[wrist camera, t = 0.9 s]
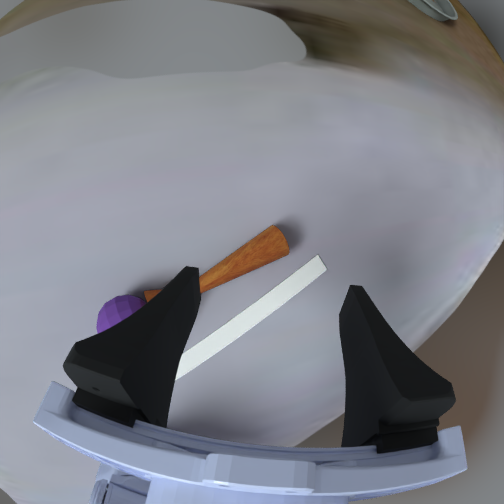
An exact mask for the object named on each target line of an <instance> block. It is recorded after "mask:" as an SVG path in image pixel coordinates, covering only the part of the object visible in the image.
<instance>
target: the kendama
mask: <svg viewBox="0 0 504 504" xmlns="http://www.w3.org/2000/svg"><path fill="white" fill-rule="evenodd" d="M288 254H289V246H288V243H287V241H286V239H285V237H284V235H283V234H282V232H281V231H280V230H279V229H278V228H277V227H276V226H273V225H272V226H270V227H269V228H267V229H266V230H264V231H263V232H262V233H260V234H259V235H257V236H256V237H254V238H253V239H252V240H250V241H249V242H247V243H246V244H245V245H243V246H242V247H240V248H239V249H238V250H236V251H235V252H233V253H232V254H231V255H229V256H228V257H226V258H225V259H224V260H222V261H221V262H219V263H218V264H217V265H215V266H214V267H212V268H211V269H210V270H208V271H207V272H206V273H204V274H203V275H201V276H200V277H199V281H200V293H203V292H205V291H207V290H210V289H212V288H214V287H216V286H219V285H221V284H223V283H226V282H228V281H230V280H232V279H235V278H237V277H239V276H241V275H244V274H246V273H248V272H250V271H253V270H255V269H257V268H259V267H262V266H264V265H266V264H268V263H271V262H273V261H275V260H277V259H280V258H282V257H284V256H286V255H288ZM161 290H162V289H161ZM161 290H148V291H144V294H145V298H146V300H147V302H149V301H150V300H151V299H152V298H153V297H154V296H156V295H157V294H158V293H159V292H160V291H161ZM145 304H146V302H144V301H143V300H142V299H141V298H138V297H134V296H131V295H123V296H117V297H115V298H113V299H112V300H110V301H108V302H106V303H105V304H104V306H103V307H102V309H101V310H100V312H99V314H98V320H97V332H98V333H100V332H102V331H105V330H106V329H108V328H110V327H112V326H114V325H116V324H117V323H119V322H121V321H122V320H124V319H126V318H127V317H129V316H130V315H132V314H133V313H134V312H136V311H137V310H139V309H140V308H141V307H142V306H144V305H145Z"/></svg>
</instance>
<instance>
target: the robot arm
mask: <svg viewBox="0 0 504 504" xmlns="http://www.w3.org/2000/svg"><path fill="white" fill-rule="evenodd" d="M200 301H201V293H200V281H199V268H196V267H189V266H186V267H185V268H184V269H183V270H182V271H181V272H180V273H179V274H178V275H177V276H176V277H175V278H174V279H173V280H172V281H171V282H170V283H169V284H167V285H166V286H165V287H164V288H163V289H162V290H161V291H160V292H159V293H158V294H157V295H156V296H154V297H153V298H152V299H151V300H150V301H149V302H147V303H146V304H145V305H144V306H142V307H141V308H140V309H139V310H137V311H136V312H134V313H133V314H132V315H130V316H129V317H127V318H126V319H124V320H122V321H121V322H119V323H117V324H116V325H114V326H112V327H110V328H108V329H106V330H105V331H102V332H100V333H98V334H96V335H94V336H91V337H89V338H86V339H84V340H81V341H79V342H76V343H75V344H74V346H73V347H72V349H71V351H70V353H69V354H68V356H67V358H66V360H65V362H64V364H63V368H64V371H65V372H66V374H67V375H68V376H69V378H70V379H71V380H72V381H73V382H74V384H75V385H76V386H77V387H78V388H77V390H76V392H74V391H72V390H71V389H69V388H67V387H65V386H63V385H61V384H59V383H57V382H54V381H52V382H51V384H50V386H49V388H48V390H47V392H46V394H45V396H44V398H43V400H42V402H41V405H40V407H39V409H38V411H37V413H36V415H35V418H34V420H33V422H34V424H36V425H37V426H38V427H40V428H41V429H43V430H44V431H45V432H47V433H48V434H50V435H51V436H52V437H54V438H55V439H57V440H58V441H60V442H62V443H64V444H65V445H67V446H69V447H71V448H73V449H75V450H77V451H79V452H81V453H83V454H85V455H87V456H89V457H91V458H93V459H95V460H97V461H100V462H101V464H100V467H99V470H98V473H97V475H96V483H95V485H94V488H93V491H92V494H91V497H90V501H89V504H348V502H349V501H357V500H364V499H369V498H376V497H381V496H386V495H391V494H396V493H400V492H404V491H409V490H413V489H416V488H420V487H424V486H427V485H431V484H434V483H437V482H440V481H442V480H445V479H447V478H449V477H452V476H454V475H456V474H458V473H461V472H463V471H465V470H466V469H467V462H466V455H465V449H464V443H463V437H462V432H461V427H460V426H455V427H451V428H447V429H443V430H440V431H438V432H437V428H436V426H438V425H439V417H440V416H442V415H443V414H444V413H445V412H447V411H448V410H449V409H450V408H451V407H452V406H453V405H454V403H455V401H456V398H455V394H454V391H453V387H452V384H451V383H450V382H449V381H447V380H446V379H444V378H443V377H442V376H440V375H439V374H437V373H436V372H435V371H433V370H432V369H431V368H430V367H428V366H427V365H426V364H425V363H424V362H422V361H421V360H420V359H419V358H418V357H417V356H416V355H415V354H414V353H413V352H412V351H411V350H410V349H409V348H408V347H407V346H406V345H405V344H404V343H403V341H402V340H401V339H400V338H399V337H398V336H397V335H396V333H395V332H394V331H393V330H392V328H391V327H390V326H389V324H388V323H387V322H386V320H385V319H384V318H383V316H382V315H381V313H380V312H379V310H378V309H377V308H376V306H375V305H374V303H373V302H372V300H371V299H370V297H369V296H368V294H367V293H366V291H365V290H364V288H363V287H362V286H357V285H350V287H349V290H348V292H347V295H346V298H345V300H344V303H343V306H342V308H341V311H340V314H339V327H340V339H341V346H342V353H343V360H344V367H345V377H346V400H345V418H344V430H343V438H342V445H341V448H296V447H277V446H265V445H255V444H246V443H238V442H231V441H225V440H219V439H213V438H207V437H202V436H197V435H192V434H188V433H183V432H179V431H175V430H171V429H167V428H166V426H167V420H168V413H169V407H170V402H171V397H172V392H173V387H174V383H175V379H176V374H177V370H178V366H179V362H180V359H181V356H182V353H183V350H184V348H185V345H186V343H187V340H188V338H189V335H190V332H191V330H192V327H193V325H194V322H195V319H196V317H197V313H198V309H199V305H200ZM192 452H194V453H192Z"/></svg>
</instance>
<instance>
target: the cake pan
mask: <svg viewBox="0 0 504 504" xmlns="http://www.w3.org/2000/svg"><path fill="white" fill-rule="evenodd" d="M408 1H409V2H410V3H412V4H413V5H414V6H416V7H417V8H418V9H420V10H421V11H422V12H424V13H425V14H427V15H428V16H430V17H432V18H434V19H436V20H438V21H445V20H448V19H452V20H457V18H458V15H457V13H456V11H455V9H454V7H453V6H452V4H451V3H450V2H449V0H434V1H435V2H436V3H435V2H433V1H432V0H408Z"/></svg>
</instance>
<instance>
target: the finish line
mask: <svg viewBox="0 0 504 504" xmlns="http://www.w3.org/2000/svg"><path fill="white" fill-rule="evenodd" d="M326 270H327V269H326V267H325V266H324V264H323V262H322V261H321V259H320V258H319V256H318V255H316V256H315V257H314V258H313V259H311V260H310V261H309V262H308V263H306V264H305V265H304V266H302V267H301V268H300V269H298V270H297V271H296V272H295V273H293V274H292V275H291V276H289V277H288V278H287V279H285V280H284V281H283V282H282V283H280V284H279V285H278V286H276V287H275V288H274V289H272V290H271V291H270V292H268V293H267V294H266V295H264V296H263V297H262V298H260V299H259V300H257V301H256V302H255V303H253V304H252V305H251V306H249V307H248V308H247V309H245V310H244V311H243V312H241V313H240V314H238V315H237V316H236V317H234V318H233V319H231V320H230V321H229V322H227V323H226V324H225V325H223V326H222V327H220V328H219V329H218V330H216V331H215V332H213V333H212V334H210V335H209V336H208V337H206V338H205V339H203V340H202V341H200V342H199V343H198V344H196V345H195V346H193V347H192V348H190V349H189V350H187V351H186V352H185V353H183V354H182V356H181V359H180V362H179V366H178V370H177V374H176V379H175V381H176V380H177V379H179V378H180V377H182V376H183V375H185V374H186V373H188V372H189V371H191V370H192V369H194V368H195V367H197V366H198V365H200V364H201V363H203V362H204V361H206V360H207V359H208V358H210V357H211V356H213V355H214V354H216V353H217V352H219V351H220V350H221V349H223V348H224V347H226V346H227V345H229V344H230V343H231V342H233V341H234V340H236V339H237V338H238V337H240V336H241V335H243V334H244V333H245V332H247V331H248V330H249V329H251V328H252V327H254V326H255V325H256V324H258V323H259V322H260V321H262V320H263V319H264V318H266V317H267V316H268V315H270V314H271V313H272V312H274V311H275V310H276V309H278V308H279V307H280V306H282V305H283V304H284V303H286V302H287V301H288V300H289V299H291V298H292V297H293V296H295V295H296V294H297V293H298V292H300V291H301V290H302V289H303V288H305V287H306V286H307V285H309V284H310V283H311V282H312V281H314V280H315V279H316V278H317V277H319V276H320V275H321V274H322V273H323V272H325V271H326Z"/></svg>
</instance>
